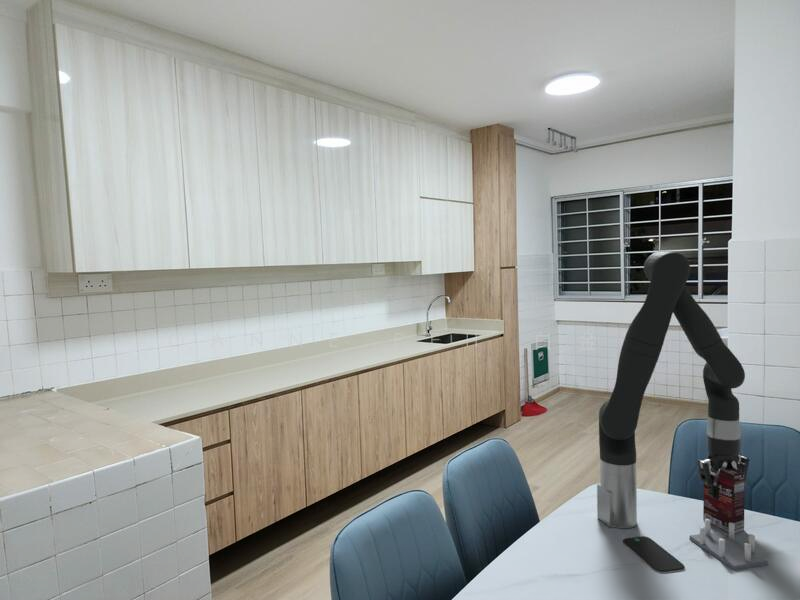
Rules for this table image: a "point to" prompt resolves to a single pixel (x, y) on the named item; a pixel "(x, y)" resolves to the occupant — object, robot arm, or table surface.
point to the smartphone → (653, 555)
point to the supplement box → (726, 501)
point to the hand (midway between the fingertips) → (723, 496)
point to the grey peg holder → (728, 547)
